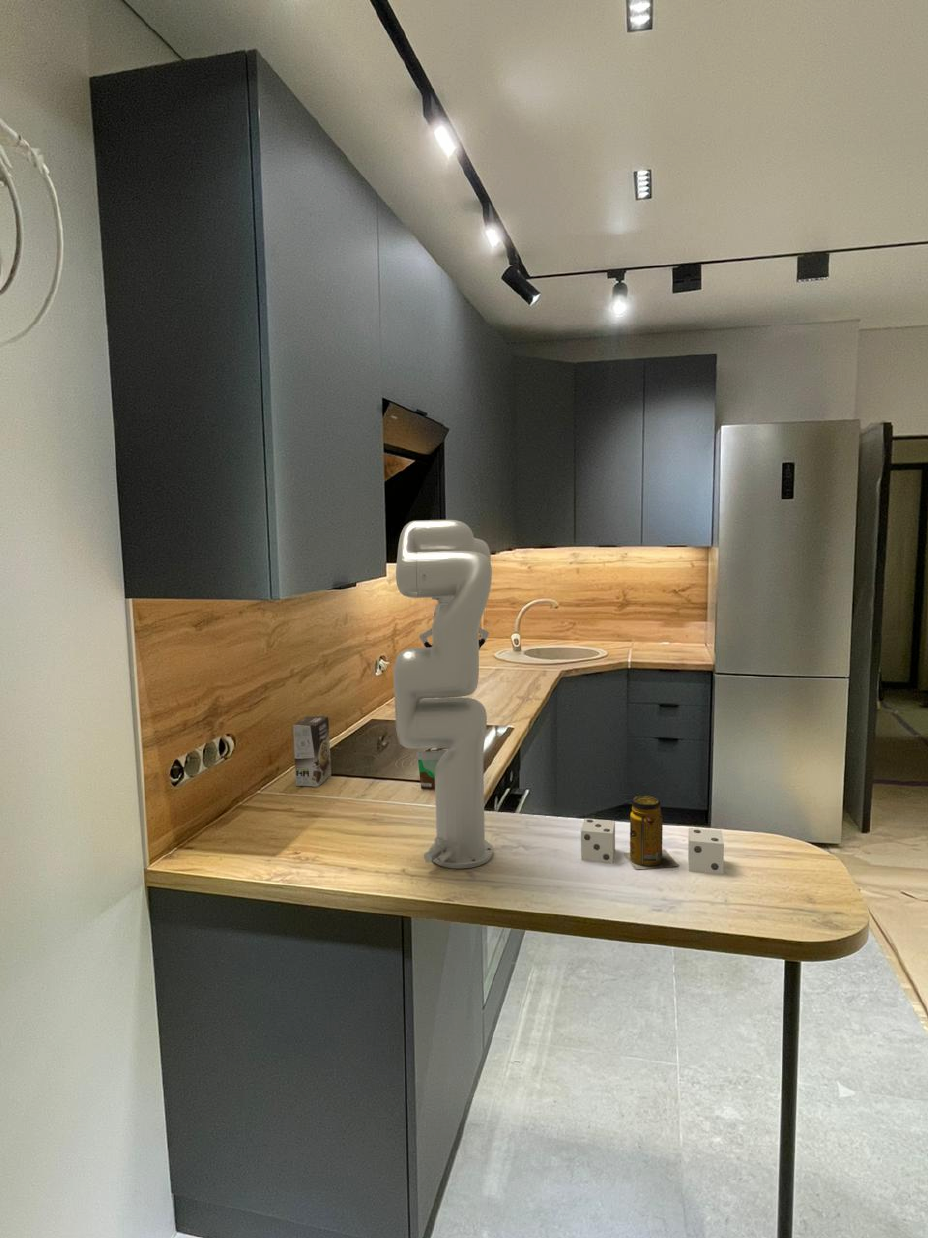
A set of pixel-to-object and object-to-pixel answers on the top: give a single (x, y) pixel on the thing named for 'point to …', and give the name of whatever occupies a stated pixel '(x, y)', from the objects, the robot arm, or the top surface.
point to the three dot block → (598, 840)
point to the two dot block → (706, 851)
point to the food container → (428, 766)
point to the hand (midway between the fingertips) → (455, 666)
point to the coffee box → (312, 751)
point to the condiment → (647, 835)
